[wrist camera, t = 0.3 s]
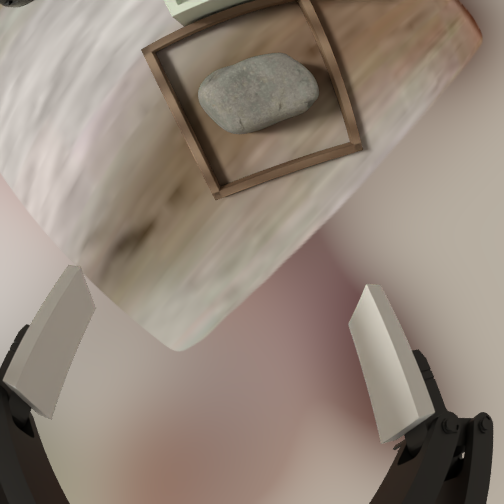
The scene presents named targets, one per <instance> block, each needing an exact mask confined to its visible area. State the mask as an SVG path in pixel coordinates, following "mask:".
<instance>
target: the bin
mask: <svg viewBox="0 0 504 504" xmlns="http://www.w3.org/2000/svg"><path fill="white" fill-rule="evenodd" d="M164 1H165V3H166V5H167V7H168V9H169V11H170V13H171V15H172V17H173V18H175V19H176V20H177V21H178V22H180V23H181V24H182V25H183V26H184V27H185V26H187V25H189V24H191V23H194V22H196V21H198V20H201V19H203V18H205V17H208V16H210V15H213V14H216V13H218V12H221V11H224V10H226V9H229V8H232V7H235V6H238V5H241V4H244V3H248V2H251V1H254V0H164Z"/></svg>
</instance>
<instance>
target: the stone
mask: <svg viewBox="0 0 504 504" xmlns="http://www.w3.org/2000/svg"><path fill="white" fill-rule="evenodd" d="M318 95H319V89H318V85H317V82H316V80H315V78H314V76H313V75H312V74H311V72H310V71H309V70H308V69H307V68H305V67H304V66H303V65H302V64H300V63H299V62H297V61H296V60H294V59H293V58H291V57H290V56H288V55H287V54H283V53H271V54H265V55H260V56H255V57H251V58H248V59H245V60H243V61H241V62H239V63H237V64H235V65H231V66H227V67H224V68H221V69H218V70H216V71H214V72H213V73H211V74H210V75H209V76H207V77H206V79H205V80H204V81H203V82H202V84H201V86H200V88H199V91H198V98H199V102H200V105H201V106H202V108H203V109H204V110H205V112H206V113H207V114H208V115H209V116H210V118H211V119H212V120H214V121H215V122H216V123H217V124H218V125H219V126H220V127H221V128H223V129H224V130H226V131H228V132H230V133H234V134H245V133H250V132H254V131H258V130H261V129H264V128H266V127H268V126H270V125H273V124H275V123H277V122H280V121H282V120H285V119H288V118H291V117H294V116H297V115H300V114H302V113H304V112H305V111H307V110H308V109H309V108H310V107H311V106H312V104H313V102H314V101H315V100H316V99H317V98H318Z"/></svg>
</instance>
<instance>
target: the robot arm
mask: <svg viewBox="0 0 504 504" xmlns="http://www.w3.org/2000/svg"><path fill="white" fill-rule="evenodd" d="M31 1H32V0H0V4H2V5H3V6H6V7H20V6H23V5H25V4H27V3H29V2H31ZM95 309H96V307H95V304H94V302H93V299H92V297H91V294H90V292H89V289H88V286H87V283H86V280H85V278H84V275H83V272H82V269H81V266H72V265H68V267H67V268H66V270H65V271H64V272H63V274H62V275H61V277H60V278H59V280H58V281H57V282H56V284H55V285H54V287H53V289H52V290H51V292H50V293H49V295H48V296H47V298H46V299H45V301H44V303H43V304H42V306H41V308H40V309H39V311H38V312H37V314H36V316H35V317H34V319H33V321H32V323H31V324H30V325H25V326H24V327H23V328H22V329H21V330H20V331H19V332H18V334H17V336H16V338H15V340H14V343H13V344H12V345H11V347H10V351H8V353H7V355H6V357H5V359H4V361H3V363H2V366H1V368H0V504H70V503H69V502H68V500H67V498H66V496H65V494H64V492H63V490H62V489H61V486H60V485H59V482H58V480H57V478H56V476H55V474H54V472H53V470H52V467H51V465H50V463H49V460H48V458H47V455H46V453H45V450H44V448H43V445H42V442H41V439H40V437H39V434H38V431H37V428H36V425H35V421H34V418H33V416H32V414H31V412H30V411H31V408H32V409H33V410H34V411H35V412H37V413H38V414H40V415H42V416H44V417H46V418H49V419H52V416H53V413H54V410H55V407H56V404H57V401H58V397H59V395H60V392H61V389H62V387H63V384H64V381H65V378H66V376H67V373H68V371H69V368H70V365H71V363H72V360H73V358H74V356H75V353H76V351H77V348H78V346H79V344H80V342H81V339H82V337H83V335H84V333H85V330H86V328H87V326H88V324H89V322H90V320H91V317H92V315H93V313H94V311H95ZM348 325H349V328H350V331H351V334H352V338H353V340H354V344H355V347H356V350H357V353H358V357H359V360H360V364H361V367H362V371H363V374H364V378H365V381H366V385H367V388H368V392H369V395H370V399H371V403H372V407H373V411H374V415H375V419H376V423H377V428H378V432H379V436H380V441H381V444H382V443H386V442H390V441H394V440H397V439H398V438H400V437H401V436H403V435H404V436H405V440H403V441H402V442H400V443H398V444H397V445H396V446H395V447H394V448H393V449H394V450H396V449H397V448H399V447H400V449H399V450H398V453H397V455H396V457H395V460H394V461H393V463H392V465H391V467H390V469H389V471H388V473H387V475H386V477H385V478H384V480H383V482H382V484H381V485H380V487H379V489H378V490H377V492H376V494H375V495H374V497H373V499H372V500H371V502H370V503H369V504H486V501H487V496H488V490H489V483H490V475H491V465H492V453H493V422H492V419H491V417H490V416H489V415H488V414H487V413H484V412H482V413H479V414H478V415H477V416H475V417H474V418H458V417H457V416H456V415H455V414H454V413H452V412H449V411H447V409H446V408H445V405H444V402H443V399H442V397H441V394H440V391H439V389H438V386H437V384H436V381H435V379H434V376H433V374H432V371H430V366H429V364H428V362H427V359H426V358H425V357H424V355H423V354H422V353H421V352H420V351H419V350H413V351H412V350H411V348H410V345H409V343H408V341H407V339H406V336H405V334H404V332H403V330H402V328H401V325H400V323H399V321H398V319H397V317H396V315H395V313H394V311H393V309H392V306H391V305H390V302H389V301H388V298H387V296H386V294H385V293H384V290H383V289H382V287H381V285H380V284H366V287H365V289H364V291H363V293H362V296H361V298H360V300H359V302H358V305H357V307H356V309H355V311H354V313H353V315H352V317H351V320H350V322H349V324H348ZM464 452H465V454H464V458H462V453H464Z"/></svg>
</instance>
